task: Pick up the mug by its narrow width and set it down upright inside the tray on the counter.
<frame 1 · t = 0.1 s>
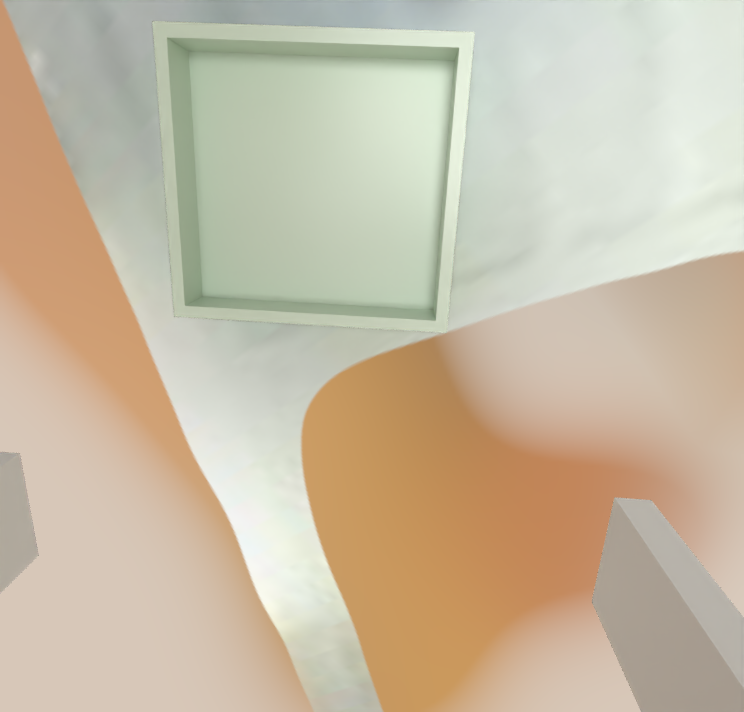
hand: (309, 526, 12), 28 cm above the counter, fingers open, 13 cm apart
tray: (320, 188, 36), on the counter
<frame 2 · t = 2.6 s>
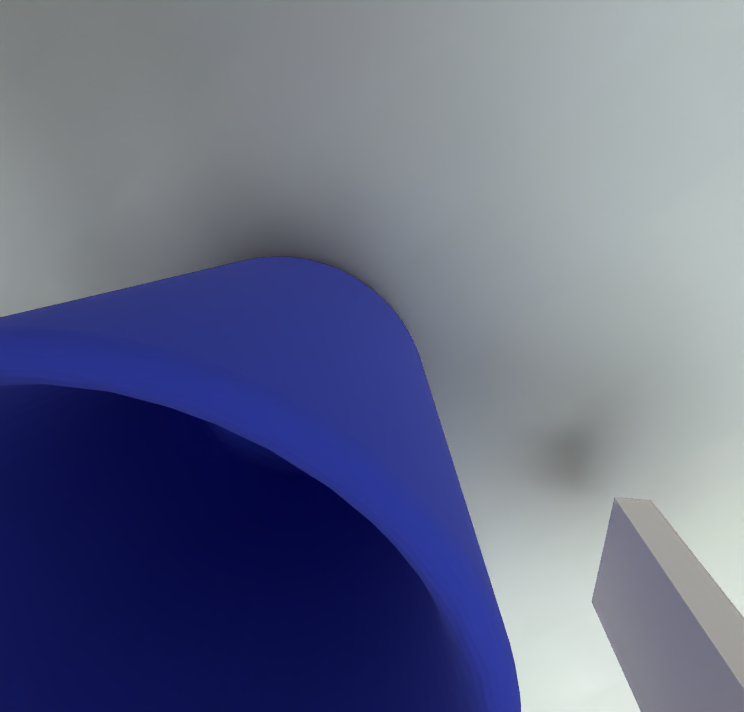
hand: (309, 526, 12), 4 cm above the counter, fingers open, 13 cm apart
mug: (332, 427, 15), on the counter
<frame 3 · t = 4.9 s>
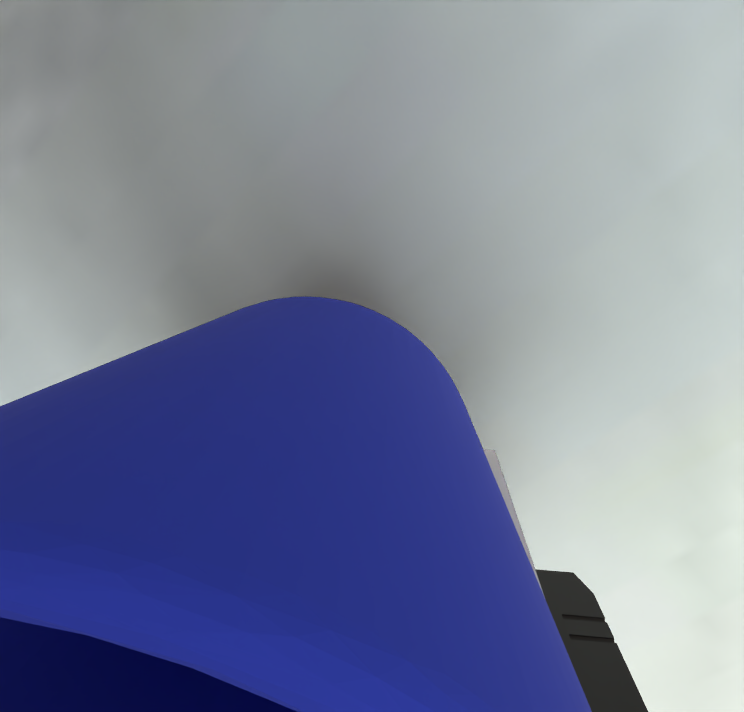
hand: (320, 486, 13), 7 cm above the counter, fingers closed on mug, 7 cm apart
mug: (359, 482, 14), point 7 cm above the counter, touching gripper
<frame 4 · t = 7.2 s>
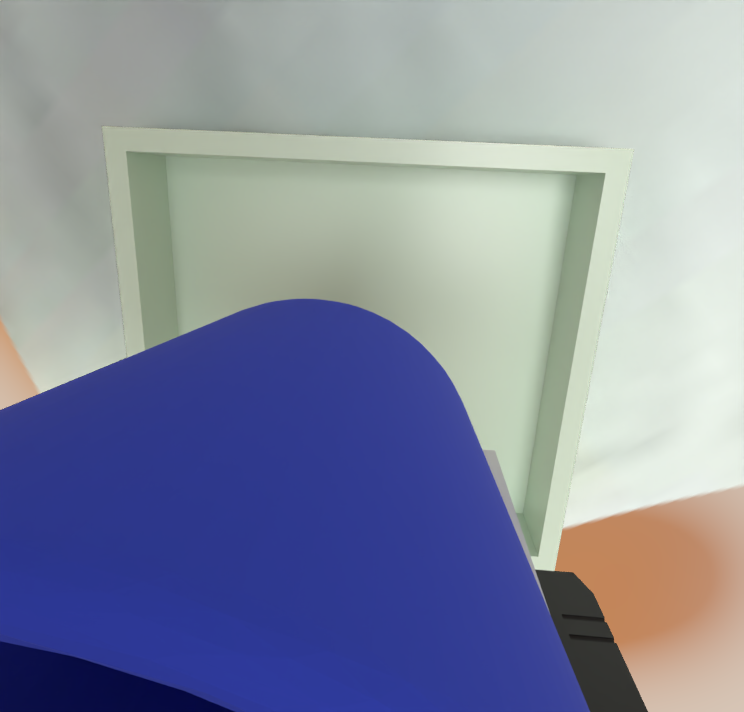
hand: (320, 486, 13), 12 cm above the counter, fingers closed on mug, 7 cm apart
tray: (361, 345, 25), on the counter
mug: (358, 485, 13), point 12 cm above the counter, touching gripper
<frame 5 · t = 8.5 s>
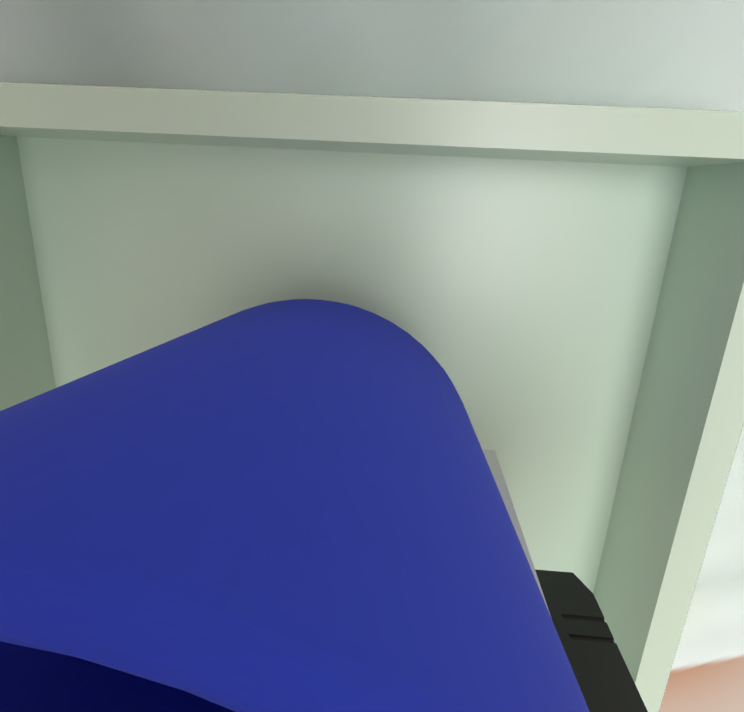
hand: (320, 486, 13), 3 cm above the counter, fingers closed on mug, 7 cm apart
tray: (338, 425, 16), on the counter
mug: (358, 485, 13), point 3 cm above the counter, touching gripper
when the fingers open (2 cm above the counter, at t = 9.6 s): mug drops 1 cm, resting on tray.
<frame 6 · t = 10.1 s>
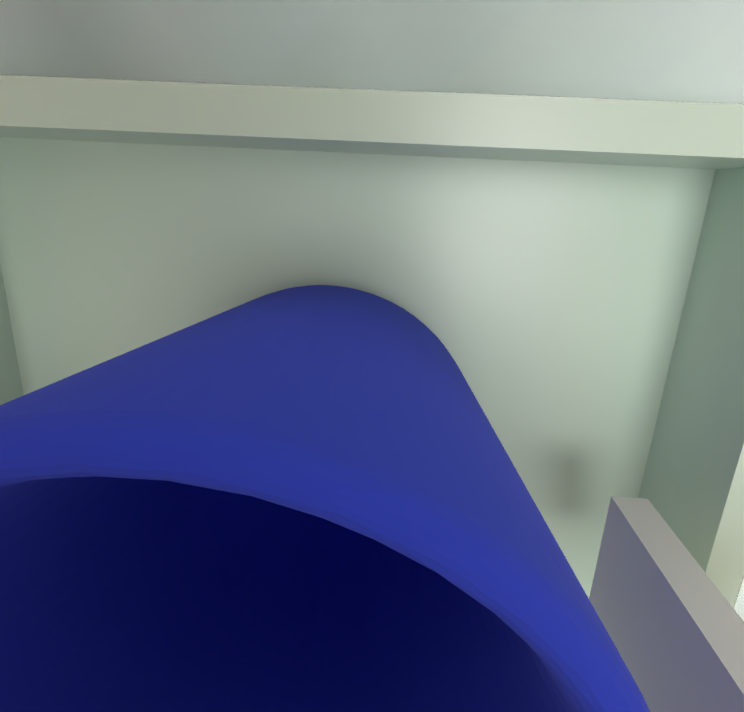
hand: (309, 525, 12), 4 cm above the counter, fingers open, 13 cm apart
tray: (331, 448, 15), on the counter
mug: (364, 460, 14), point 1 cm above the counter, touching tray
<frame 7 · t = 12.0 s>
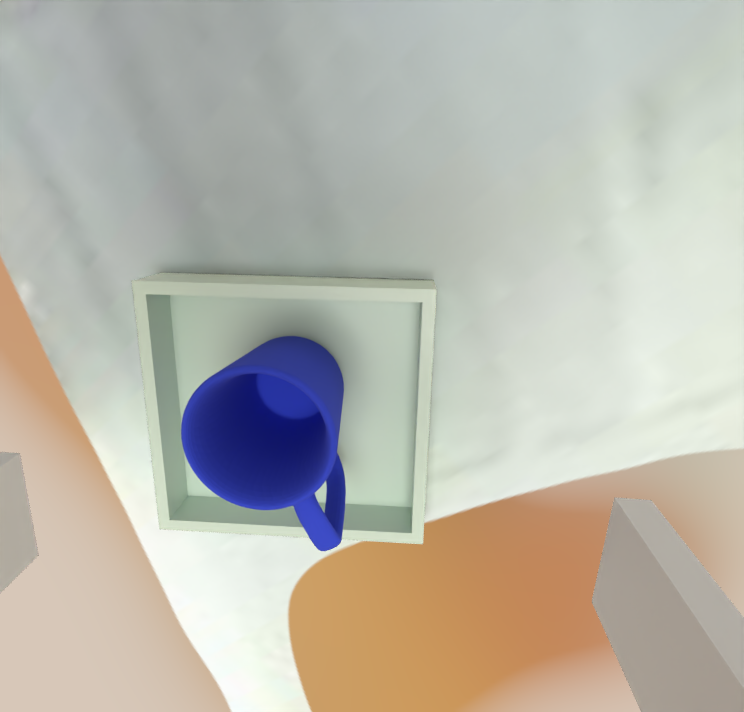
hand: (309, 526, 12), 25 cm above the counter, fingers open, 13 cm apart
tray: (298, 398, 38), on the counter
mug: (310, 401, 37), point 1 cm above the counter, touching tray
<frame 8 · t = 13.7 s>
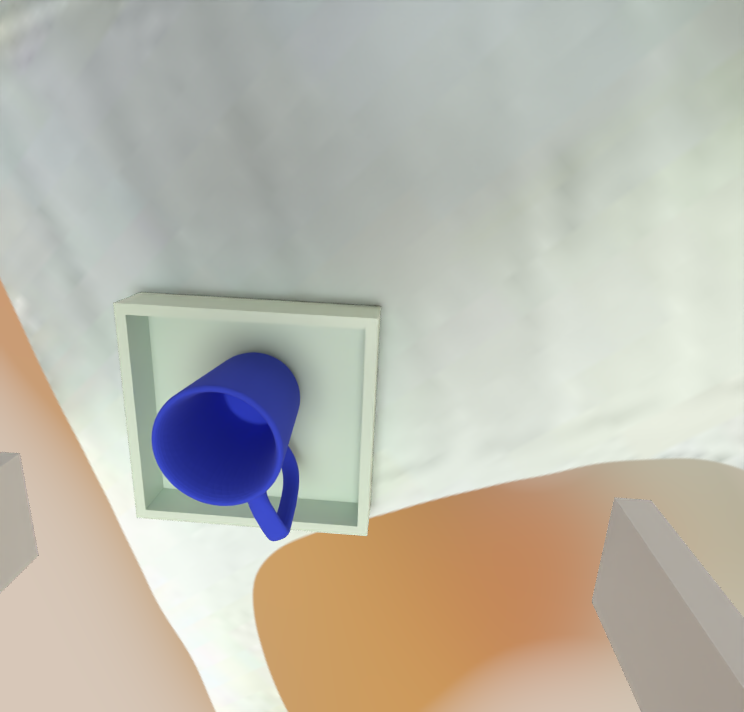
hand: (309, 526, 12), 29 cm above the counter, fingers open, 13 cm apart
tray: (261, 405, 42), on the counter
mug: (272, 408, 42), point 1 cm above the counter, touching tray
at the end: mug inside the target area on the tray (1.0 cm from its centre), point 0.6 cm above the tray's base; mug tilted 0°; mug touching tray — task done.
